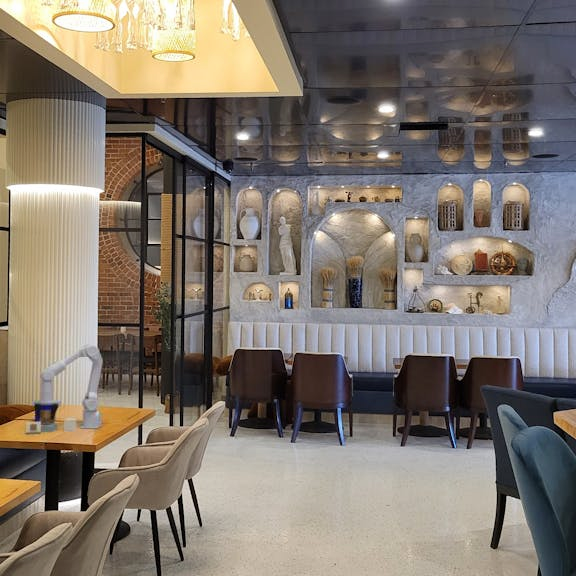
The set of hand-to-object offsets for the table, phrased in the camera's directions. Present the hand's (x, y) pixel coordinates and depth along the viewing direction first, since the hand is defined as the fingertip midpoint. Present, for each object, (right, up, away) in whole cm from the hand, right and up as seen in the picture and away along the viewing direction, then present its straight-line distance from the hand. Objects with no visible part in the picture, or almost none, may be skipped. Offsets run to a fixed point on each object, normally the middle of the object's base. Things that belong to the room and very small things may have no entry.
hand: (46, 418), depth 386 cm
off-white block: (+12, -6, +1) cm, 14 cm away
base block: (0, -6, 0) cm, 6 cm away
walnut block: (0, -2, 0) cm, 2 cm away
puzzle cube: (-9, -6, +27) cm, 29 cm away
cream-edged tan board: (-4, -6, -9) cm, 11 cm away
